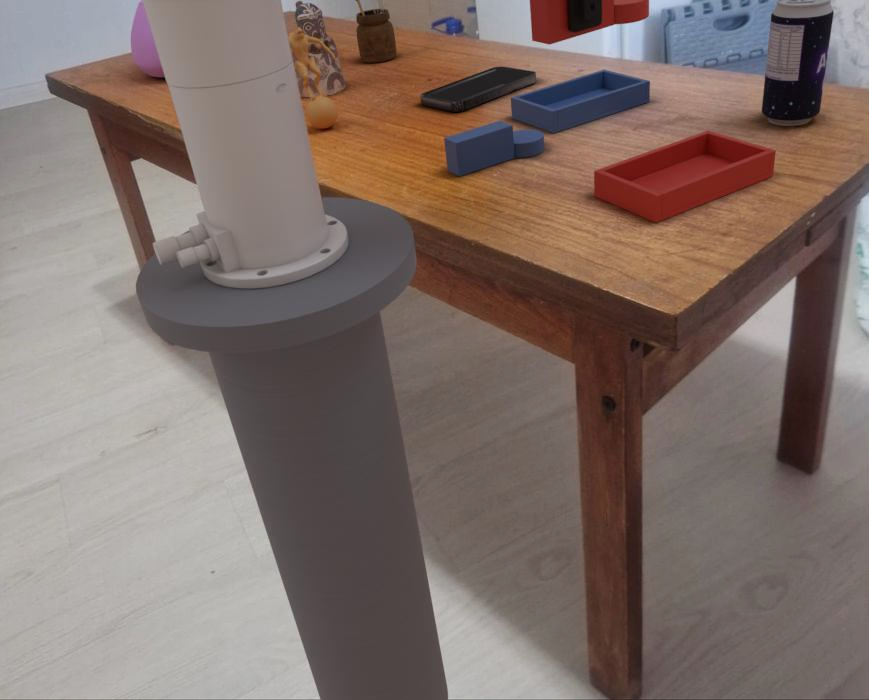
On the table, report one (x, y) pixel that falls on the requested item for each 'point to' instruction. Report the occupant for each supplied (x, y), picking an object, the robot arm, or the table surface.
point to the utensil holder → (375, 35)
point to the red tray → (683, 175)
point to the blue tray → (580, 100)
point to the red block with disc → (550, 25)
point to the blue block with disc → (490, 147)
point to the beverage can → (796, 60)
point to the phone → (477, 88)
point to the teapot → (144, 44)
